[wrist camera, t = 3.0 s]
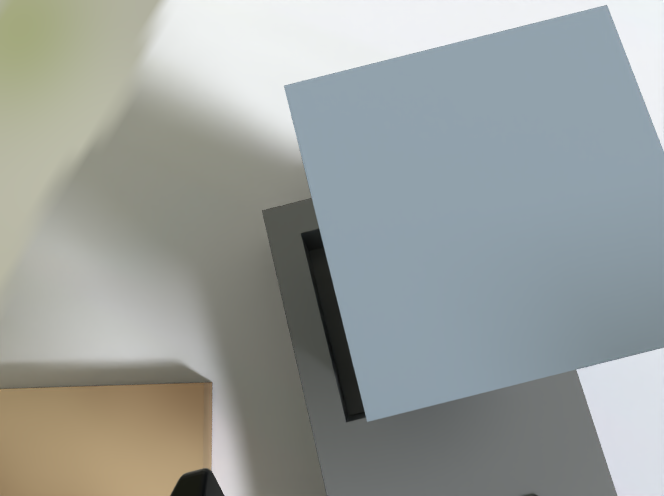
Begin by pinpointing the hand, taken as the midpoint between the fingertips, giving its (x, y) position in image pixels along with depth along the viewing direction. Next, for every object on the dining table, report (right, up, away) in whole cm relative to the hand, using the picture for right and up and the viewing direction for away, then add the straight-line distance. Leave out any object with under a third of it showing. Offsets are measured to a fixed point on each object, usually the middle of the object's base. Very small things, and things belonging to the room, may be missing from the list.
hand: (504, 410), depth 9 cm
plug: (0, +1, +10) cm, 10 cm away
